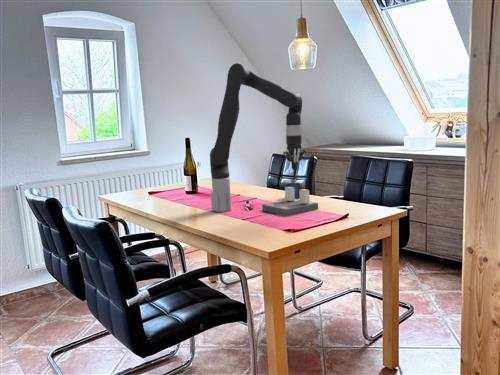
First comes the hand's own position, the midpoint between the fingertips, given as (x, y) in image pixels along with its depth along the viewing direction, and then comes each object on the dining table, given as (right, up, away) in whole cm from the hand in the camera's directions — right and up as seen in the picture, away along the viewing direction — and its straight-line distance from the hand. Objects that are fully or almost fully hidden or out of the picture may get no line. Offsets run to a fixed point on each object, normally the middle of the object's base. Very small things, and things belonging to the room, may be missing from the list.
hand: (294, 169), depth 238 cm
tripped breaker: (+6, -16, +6) cm, 18 cm away
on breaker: (-1, -15, +14) cm, 21 cm away
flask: (+3, -15, +38) cm, 41 cm away
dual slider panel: (-2, -20, +8) cm, 21 cm away
